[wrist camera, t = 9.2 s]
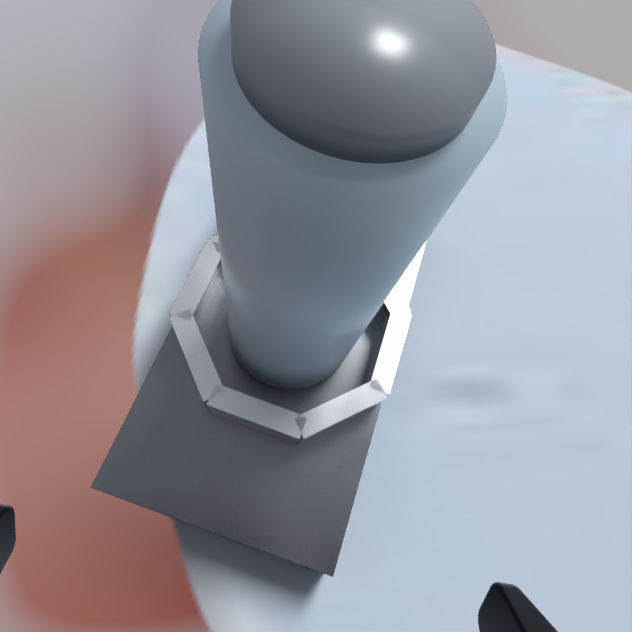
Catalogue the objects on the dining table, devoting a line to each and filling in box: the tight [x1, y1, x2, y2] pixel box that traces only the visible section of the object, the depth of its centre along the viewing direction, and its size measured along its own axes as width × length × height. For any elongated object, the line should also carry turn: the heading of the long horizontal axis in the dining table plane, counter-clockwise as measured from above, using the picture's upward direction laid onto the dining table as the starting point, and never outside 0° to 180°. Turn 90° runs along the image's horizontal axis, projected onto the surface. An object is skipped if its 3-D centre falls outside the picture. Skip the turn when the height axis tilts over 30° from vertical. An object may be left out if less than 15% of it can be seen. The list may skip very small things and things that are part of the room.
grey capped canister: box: [198, 0, 507, 389], centre depth 13 cm, size 5×5×13 cm
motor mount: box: [91, 235, 426, 577], centre depth 18 cm, size 16×9×4 cm, turn 161°
